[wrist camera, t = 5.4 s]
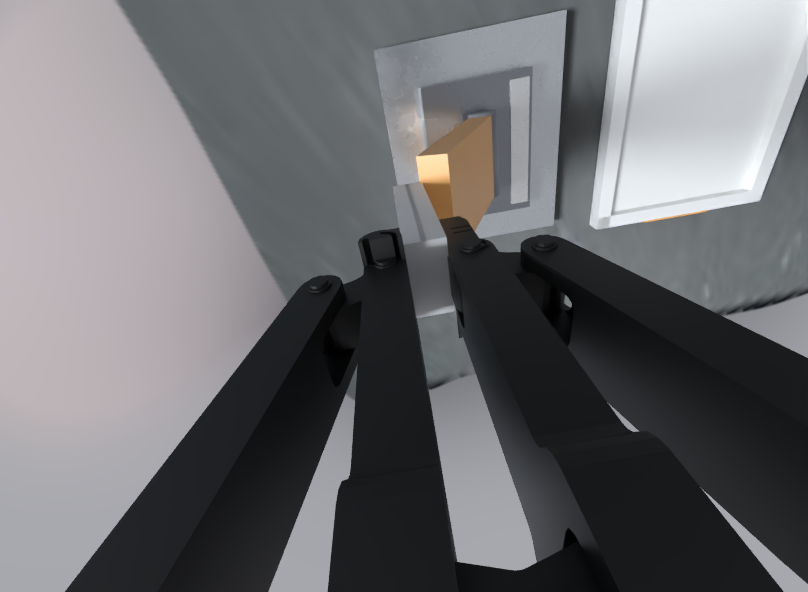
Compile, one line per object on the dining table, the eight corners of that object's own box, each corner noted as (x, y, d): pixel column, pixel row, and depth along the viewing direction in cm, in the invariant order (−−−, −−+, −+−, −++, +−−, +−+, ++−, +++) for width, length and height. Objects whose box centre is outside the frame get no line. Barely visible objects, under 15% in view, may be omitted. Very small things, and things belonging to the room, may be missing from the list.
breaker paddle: (471, 112, 23) (411, 154, 15) (499, 108, 22) (451, 150, 14) (476, 191, 26) (427, 261, 18) (501, 190, 25) (462, 263, 17)
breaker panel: (373, 50, 23) (372, 48, 21) (559, 11, 22) (578, 5, 20) (408, 245, 30) (410, 258, 28) (548, 220, 30) (561, 232, 28)
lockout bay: (618, -21, 21) (630, -26, 20) (841, -68, 21) (864, -76, 20) (589, 226, 30) (596, 232, 29) (745, 198, 29) (758, 203, 28)
